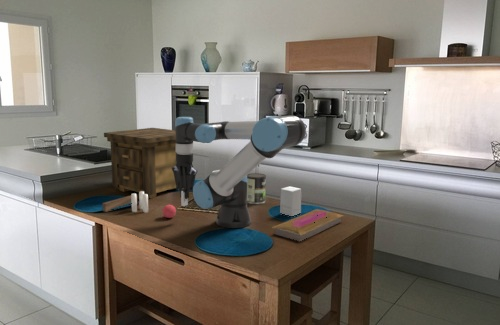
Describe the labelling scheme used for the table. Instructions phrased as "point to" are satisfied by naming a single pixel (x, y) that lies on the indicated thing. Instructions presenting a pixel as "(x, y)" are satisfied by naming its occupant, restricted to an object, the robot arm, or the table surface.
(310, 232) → the pink-striped wooden board
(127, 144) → the wooden drawer cabinet
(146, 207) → the front pin
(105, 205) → the backstop
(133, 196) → the pin
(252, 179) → the coffee can
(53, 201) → the table surface
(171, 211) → the ball
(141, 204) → the pin
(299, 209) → the supplement box
